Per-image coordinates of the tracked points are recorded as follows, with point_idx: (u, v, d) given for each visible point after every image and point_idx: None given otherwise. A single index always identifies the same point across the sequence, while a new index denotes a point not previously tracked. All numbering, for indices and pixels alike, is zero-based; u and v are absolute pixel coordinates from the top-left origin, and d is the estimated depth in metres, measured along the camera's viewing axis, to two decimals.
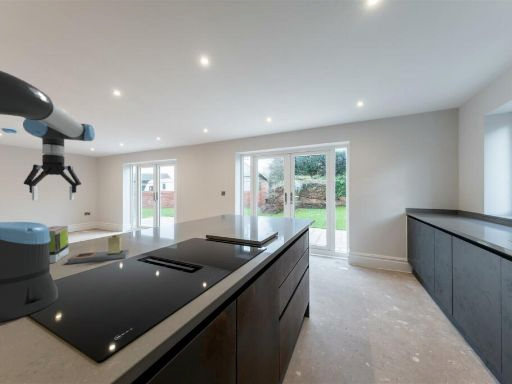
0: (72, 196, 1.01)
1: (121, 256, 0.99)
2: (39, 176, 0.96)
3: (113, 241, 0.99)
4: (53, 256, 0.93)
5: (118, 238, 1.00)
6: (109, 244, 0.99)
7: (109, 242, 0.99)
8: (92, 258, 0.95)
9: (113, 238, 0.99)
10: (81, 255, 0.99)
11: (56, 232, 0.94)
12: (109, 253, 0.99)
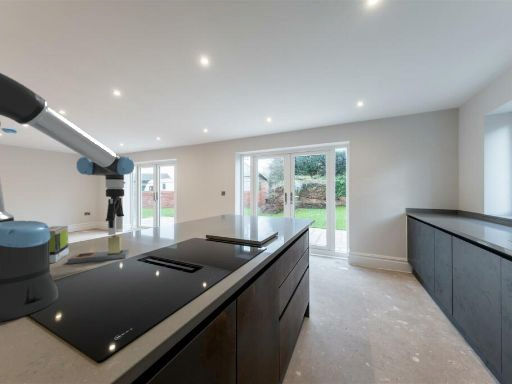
0: (110, 231, 0.95)
1: (121, 256, 0.99)
2: None
3: (113, 241, 0.99)
4: (53, 256, 0.93)
5: (118, 238, 1.00)
6: (109, 244, 0.99)
7: (109, 242, 0.99)
8: (92, 258, 0.95)
9: (113, 238, 0.99)
10: (81, 255, 0.99)
11: (56, 232, 0.94)
12: (109, 253, 0.99)
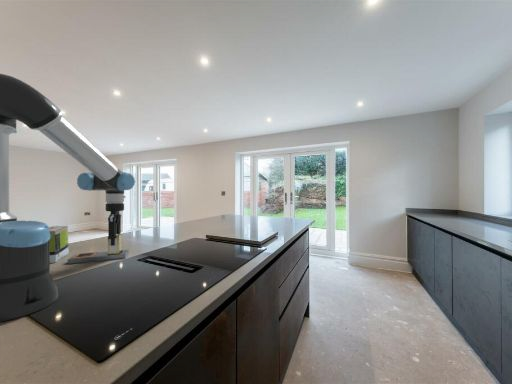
0: (112, 249, 0.98)
1: (121, 256, 0.99)
2: None
3: None
4: (53, 256, 0.93)
5: (118, 236, 1.00)
6: (109, 242, 0.99)
7: (109, 240, 0.99)
8: (92, 258, 0.95)
9: None
10: (81, 255, 0.99)
11: (56, 232, 0.94)
12: (108, 251, 0.99)
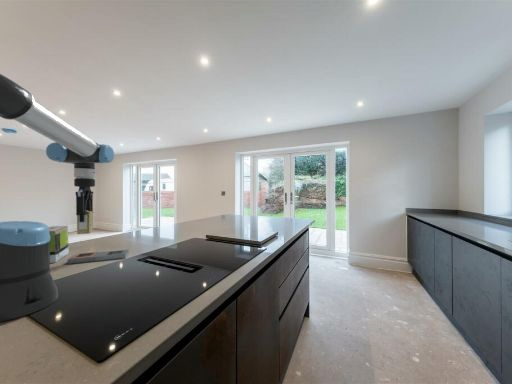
0: (81, 225, 0.94)
1: (121, 256, 0.99)
2: None
3: None
4: (53, 256, 0.93)
5: (88, 213, 0.96)
6: (78, 219, 0.94)
7: (78, 217, 0.94)
8: (92, 258, 0.95)
9: None
10: (81, 255, 0.99)
11: (56, 232, 0.94)
12: (78, 228, 0.95)
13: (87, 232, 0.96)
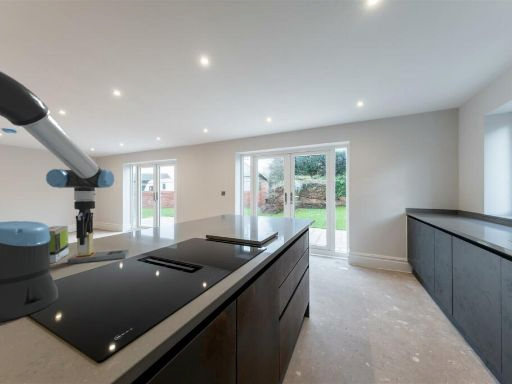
0: (81, 248, 0.94)
1: (121, 256, 0.99)
2: None
3: None
4: (53, 256, 0.93)
5: (88, 235, 0.96)
6: (78, 242, 0.95)
7: (78, 240, 0.95)
8: (92, 258, 0.95)
9: None
10: None
11: (56, 232, 0.94)
12: (78, 251, 0.95)
13: (87, 255, 0.96)
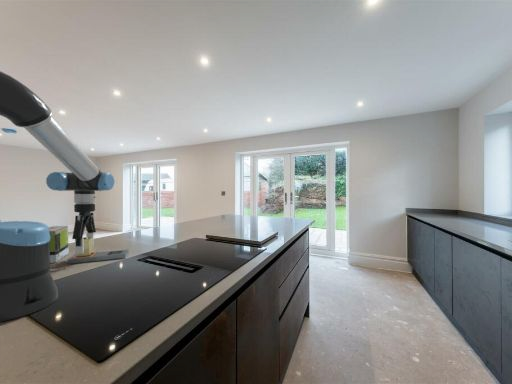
0: (78, 250, 0.91)
1: (121, 256, 0.99)
2: None
3: None
4: (53, 256, 0.93)
5: (87, 240, 0.96)
6: None
7: None
8: (92, 258, 0.95)
9: None
10: None
11: (56, 232, 0.94)
12: (78, 256, 0.94)
13: None
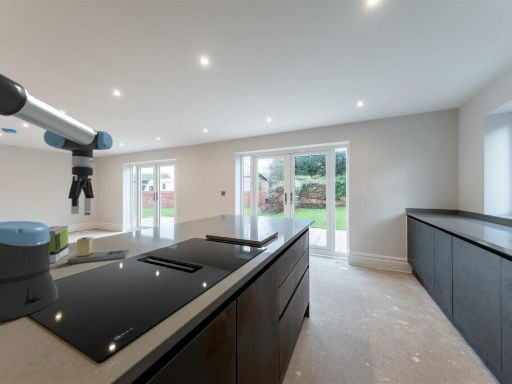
0: (74, 210, 0.89)
1: (121, 256, 0.99)
2: None
3: (82, 243, 0.95)
4: (53, 256, 0.93)
5: (87, 240, 0.96)
6: (78, 246, 0.94)
7: (78, 244, 0.94)
8: (92, 258, 0.95)
9: (82, 240, 0.95)
10: None
11: (56, 232, 0.94)
12: (78, 256, 0.94)
13: None
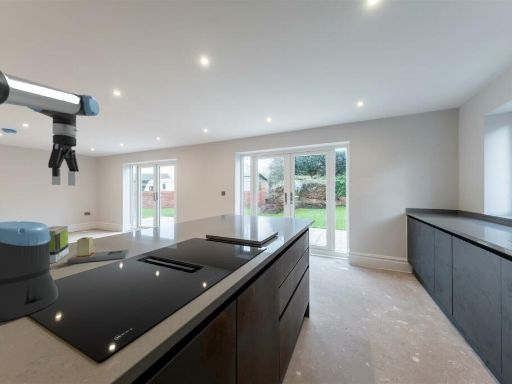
0: (55, 180, 0.83)
1: (121, 256, 0.99)
2: None
3: (82, 243, 0.95)
4: (53, 256, 0.93)
5: (87, 240, 0.96)
6: (78, 247, 0.94)
7: (78, 244, 0.94)
8: (92, 258, 0.95)
9: (82, 240, 0.95)
10: None
11: (56, 232, 0.94)
12: (78, 256, 0.94)
13: None
